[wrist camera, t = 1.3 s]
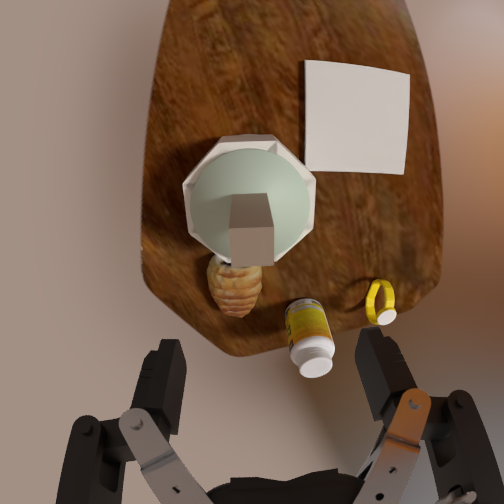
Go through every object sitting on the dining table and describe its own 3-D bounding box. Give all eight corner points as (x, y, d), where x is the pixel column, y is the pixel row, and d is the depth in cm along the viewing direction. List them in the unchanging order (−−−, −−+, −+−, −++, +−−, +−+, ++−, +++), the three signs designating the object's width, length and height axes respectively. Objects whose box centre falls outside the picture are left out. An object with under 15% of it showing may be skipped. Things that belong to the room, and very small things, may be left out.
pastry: (260, 308, 41) (261, 327, 37) (211, 308, 40) (209, 327, 37) (261, 249, 36) (263, 266, 33) (206, 249, 36) (202, 266, 32)
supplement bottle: (279, 302, 40) (288, 360, 31) (319, 291, 39) (336, 347, 30) (288, 329, 42) (297, 386, 34) (325, 319, 42) (341, 374, 33)
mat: (304, 60, 25) (305, 59, 24) (407, 74, 25) (409, 74, 24) (304, 169, 31) (305, 170, 30) (401, 173, 31) (403, 174, 30)
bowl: (189, 137, 29) (178, 146, 24) (305, 133, 29) (317, 141, 24) (199, 239, 35) (193, 264, 30) (301, 235, 35) (310, 259, 30)
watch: (373, 304, 41) (386, 333, 36) (357, 303, 41) (369, 334, 36) (388, 272, 38) (404, 301, 33) (371, 271, 38) (386, 301, 33)
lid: (185, 152, 24) (162, 175, 17) (310, 147, 24) (335, 169, 18) (198, 258, 30) (186, 309, 23) (305, 254, 30) (321, 304, 23)
